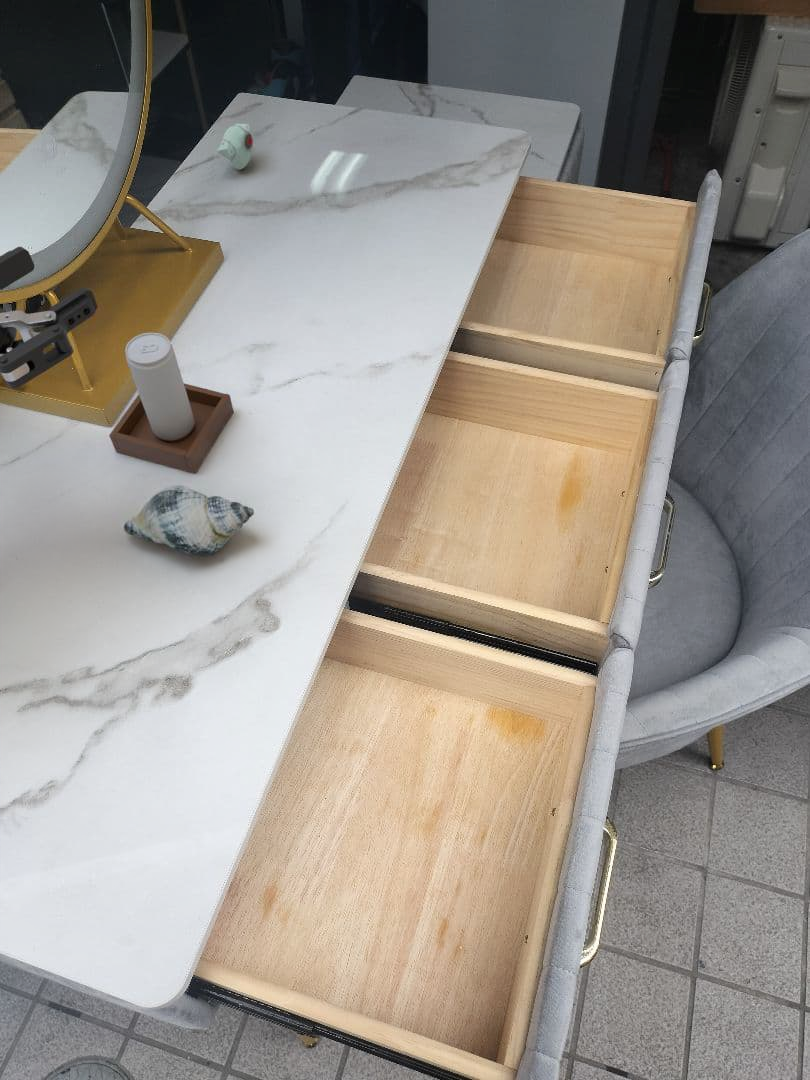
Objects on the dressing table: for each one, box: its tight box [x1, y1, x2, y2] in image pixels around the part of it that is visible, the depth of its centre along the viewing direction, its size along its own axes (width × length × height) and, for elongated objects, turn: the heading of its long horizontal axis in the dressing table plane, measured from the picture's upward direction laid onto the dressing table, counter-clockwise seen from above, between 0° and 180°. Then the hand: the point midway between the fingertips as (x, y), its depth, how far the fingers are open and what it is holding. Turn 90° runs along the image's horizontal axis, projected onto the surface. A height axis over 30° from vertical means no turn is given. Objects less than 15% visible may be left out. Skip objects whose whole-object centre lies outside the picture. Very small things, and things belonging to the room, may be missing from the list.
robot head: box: [216, 122, 254, 171], centre depth 121 cm, size 8×4×7 cm, turn 159°
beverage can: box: [124, 332, 195, 441], centre depth 88 cm, size 5×5×12 cm
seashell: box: [123, 484, 255, 557], centre depth 83 cm, size 6×8×12 cm
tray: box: [108, 382, 234, 474], centre depth 92 cm, size 10×10×3 cm
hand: (59, 276), depth 70 cm, fingers open, 8 cm apart
